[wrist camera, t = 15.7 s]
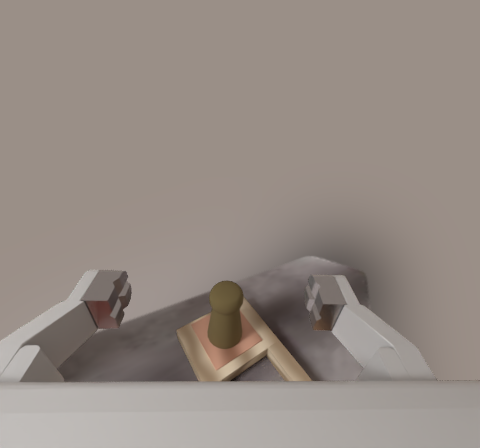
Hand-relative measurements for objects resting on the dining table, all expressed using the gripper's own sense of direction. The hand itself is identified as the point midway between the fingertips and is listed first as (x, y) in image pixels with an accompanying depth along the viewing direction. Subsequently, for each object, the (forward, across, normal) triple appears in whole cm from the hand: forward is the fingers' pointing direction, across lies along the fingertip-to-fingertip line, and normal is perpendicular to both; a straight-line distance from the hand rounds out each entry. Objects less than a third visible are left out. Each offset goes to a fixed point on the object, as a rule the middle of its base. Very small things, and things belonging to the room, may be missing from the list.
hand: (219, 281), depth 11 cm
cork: (+16, -1, +31) cm, 35 cm away
